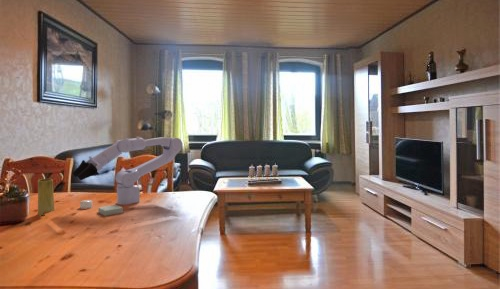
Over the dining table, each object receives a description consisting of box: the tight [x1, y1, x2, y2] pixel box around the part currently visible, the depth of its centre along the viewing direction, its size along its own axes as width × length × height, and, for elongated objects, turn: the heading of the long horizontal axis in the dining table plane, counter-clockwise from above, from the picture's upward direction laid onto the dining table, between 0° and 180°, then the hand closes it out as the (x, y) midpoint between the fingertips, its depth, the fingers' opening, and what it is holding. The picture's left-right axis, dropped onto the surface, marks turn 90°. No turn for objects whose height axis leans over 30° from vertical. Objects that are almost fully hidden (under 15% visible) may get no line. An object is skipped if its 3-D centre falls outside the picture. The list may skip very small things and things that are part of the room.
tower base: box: [96, 211, 125, 218], centre depth 129 cm, size 8×8×2 cm
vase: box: [36, 178, 55, 217], centre depth 131 cm, size 6×6×14 cm
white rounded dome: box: [79, 199, 93, 210], centre depth 138 cm, size 5×5×4 cm
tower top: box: [98, 204, 124, 217], centre depth 129 cm, size 7×7×2 cm
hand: (76, 176), depth 133 cm, fingers open, 7 cm apart
